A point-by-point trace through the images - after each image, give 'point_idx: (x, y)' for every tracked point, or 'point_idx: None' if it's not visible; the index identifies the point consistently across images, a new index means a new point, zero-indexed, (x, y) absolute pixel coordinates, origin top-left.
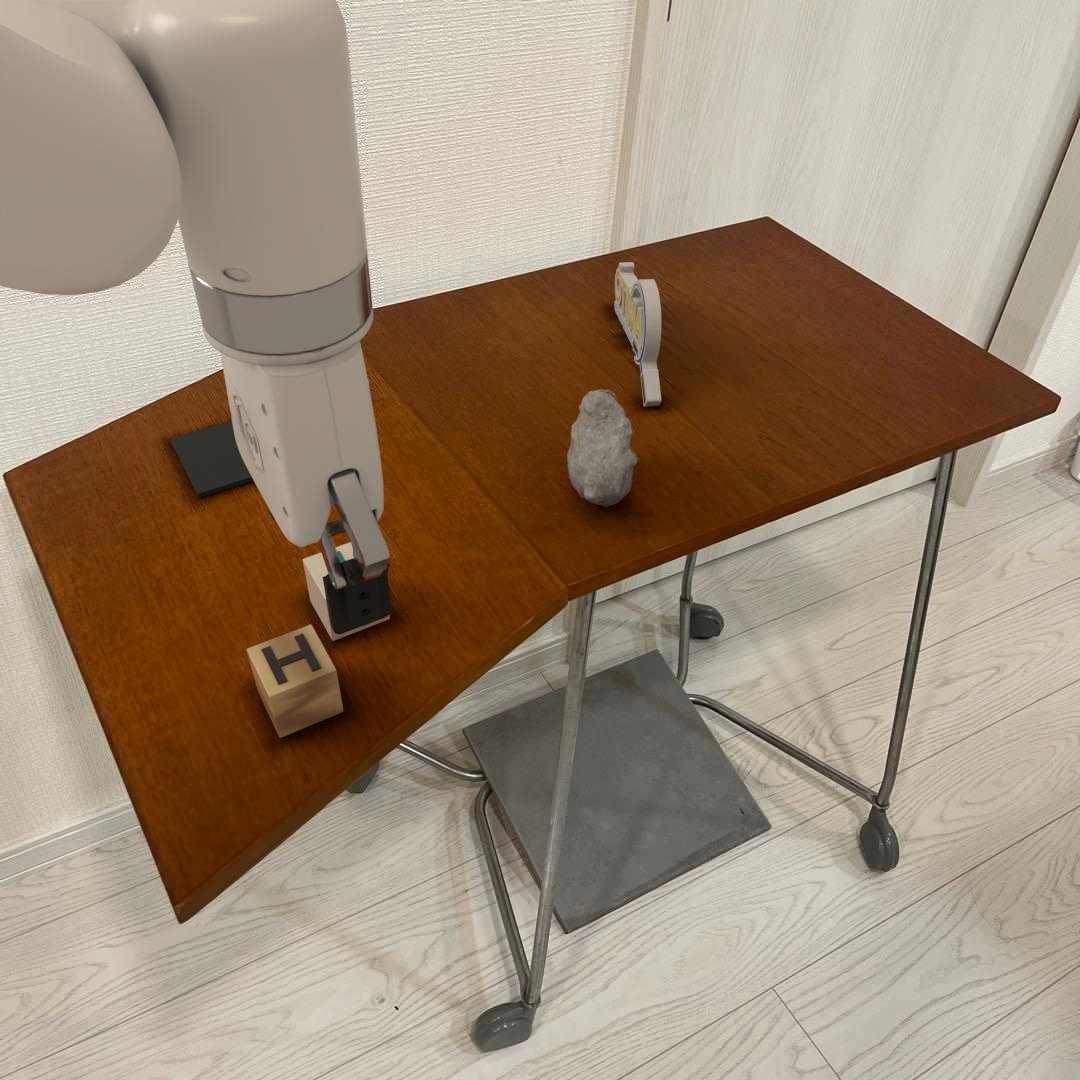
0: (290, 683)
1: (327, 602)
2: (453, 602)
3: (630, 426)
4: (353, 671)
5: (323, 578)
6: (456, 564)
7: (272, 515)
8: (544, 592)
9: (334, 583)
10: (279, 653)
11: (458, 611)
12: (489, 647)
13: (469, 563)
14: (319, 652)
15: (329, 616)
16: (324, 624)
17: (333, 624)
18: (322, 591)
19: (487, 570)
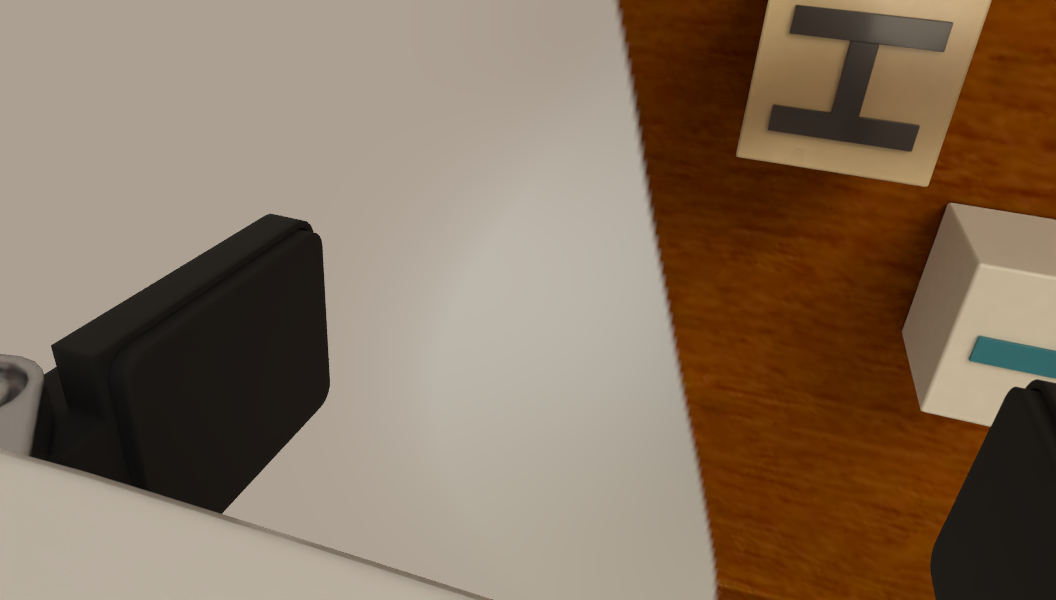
0: (777, 36)
1: (199, 278)
2: (838, 444)
3: None
4: (831, 190)
5: (83, 355)
6: (925, 512)
7: (1046, 395)
8: (732, 556)
9: (22, 372)
10: (898, 61)
11: (809, 435)
12: (690, 416)
13: (905, 528)
14: (819, 153)
15: (260, 242)
16: (1005, 214)
17: (242, 232)
18: (1013, 273)
19: (859, 536)
